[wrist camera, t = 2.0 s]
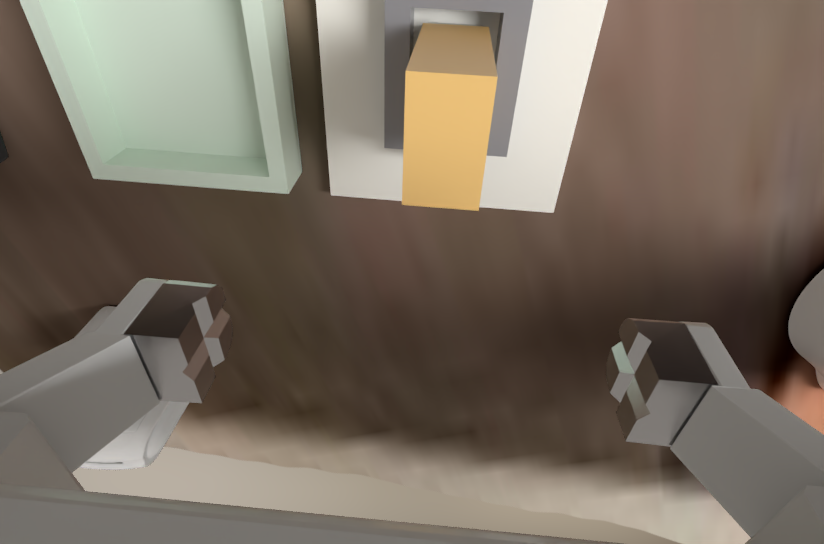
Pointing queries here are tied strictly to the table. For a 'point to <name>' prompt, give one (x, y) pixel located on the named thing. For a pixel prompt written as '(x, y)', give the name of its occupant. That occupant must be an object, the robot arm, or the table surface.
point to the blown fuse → (448, 116)
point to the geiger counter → (2, 150)
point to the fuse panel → (513, 105)
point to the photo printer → (135, 427)
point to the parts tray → (175, 89)
